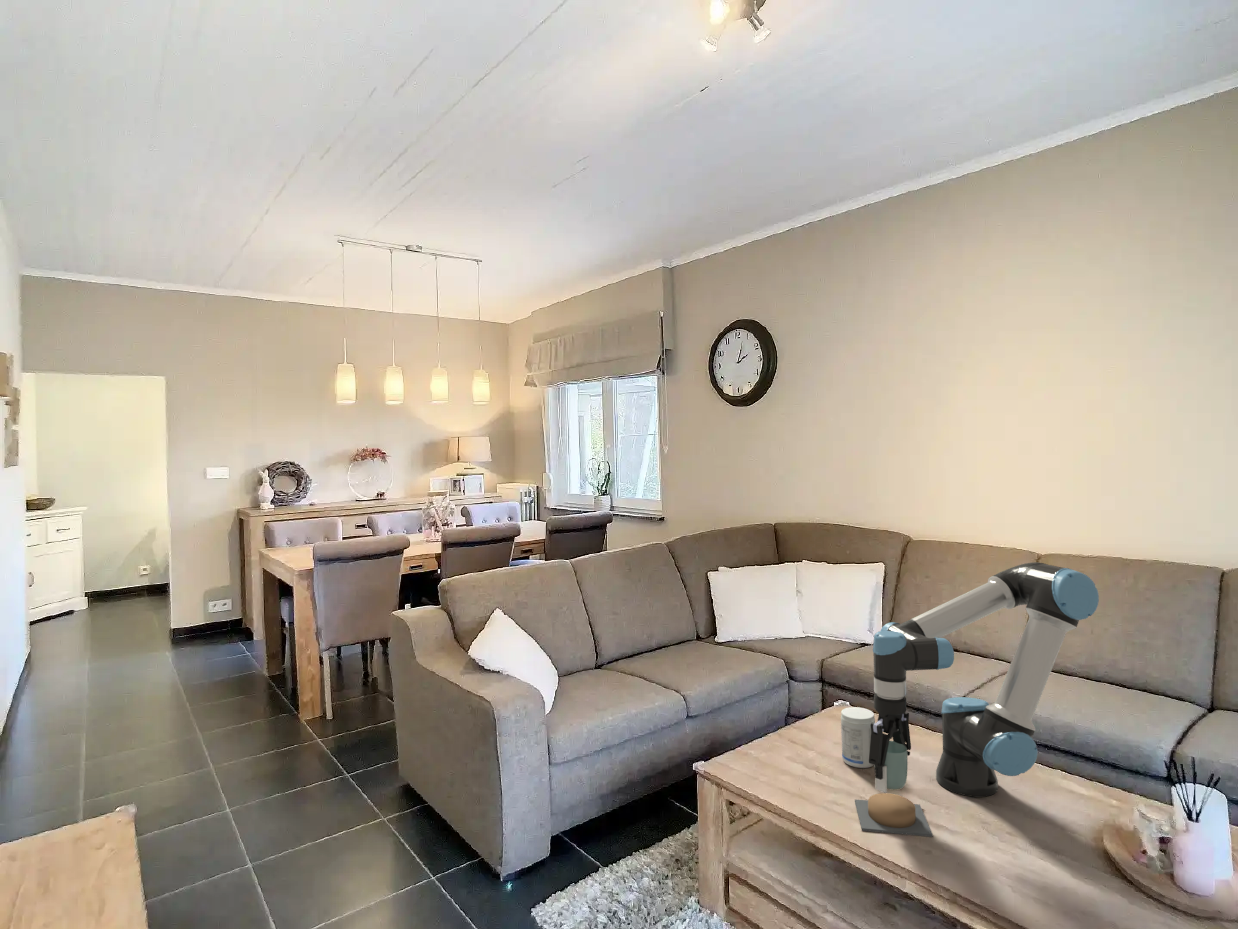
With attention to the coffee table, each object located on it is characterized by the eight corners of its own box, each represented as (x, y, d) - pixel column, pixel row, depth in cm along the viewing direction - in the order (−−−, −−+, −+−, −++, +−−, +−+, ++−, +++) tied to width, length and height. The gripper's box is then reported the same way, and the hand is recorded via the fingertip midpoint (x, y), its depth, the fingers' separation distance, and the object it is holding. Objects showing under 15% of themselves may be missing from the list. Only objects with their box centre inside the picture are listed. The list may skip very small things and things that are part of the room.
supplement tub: (864, 753, 209) (863, 705, 209) (883, 767, 200) (882, 716, 200) (835, 757, 207) (834, 708, 207) (852, 771, 198) (852, 720, 198)
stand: (919, 806, 178) (919, 793, 178) (932, 837, 164) (932, 822, 164) (854, 801, 181) (854, 788, 181) (861, 830, 167) (861, 816, 167)
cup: (910, 795, 168) (910, 754, 168) (877, 792, 169) (876, 752, 169) (904, 780, 175) (903, 741, 175) (872, 777, 177) (871, 739, 177)
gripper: (898, 681, 181) (899, 767, 182) (852, 700, 169) (853, 792, 169) (925, 689, 175) (926, 778, 176) (880, 709, 163) (881, 804, 163)
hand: (890, 785), depth 172 cm, fingers closed on cup, 8 cm apart
